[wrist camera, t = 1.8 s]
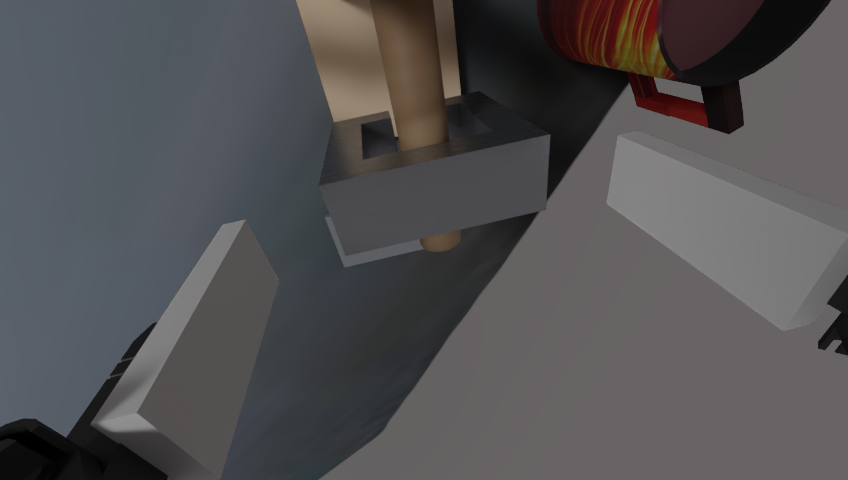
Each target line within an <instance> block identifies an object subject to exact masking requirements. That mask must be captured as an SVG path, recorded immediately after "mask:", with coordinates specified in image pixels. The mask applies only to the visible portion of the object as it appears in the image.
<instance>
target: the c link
mask: <svg viewBox="0 0 848 480" xmlns="http://www.w3.org/2000/svg"><path fill="white" fill-rule="evenodd" d="M445 104H446V113H447V121H448V130H449V138H450V141H446V142H442V143H437V144H433V145H428V146H424V147H419V148H414V149H410V150H405V151H401V152H398V149H397V144H396V139H395V135H394V130H393V125H392V121H391V117H390V114H389V111H384V112H380V113H375V114H370V115H366V116H361V117H356V118H352V119H347V120H342V121H338V122H333V124H332V128H331V133H330V137H329V142H328V146H327V151H326V155H325V160H324V164H323V169H322V173H321V177H320V182H319V188H320V191H321V193H322V196H323V199H324V201H325V204H326V206H327V209H328V212H329V214H330V217H331V219H332V222H333V225H334V227H335V230H336V233H337V235H338V238H339V240H340V243H341V246H342V248H343V251H344V253H345V256H349V255H353V254H357V253H362V252H366V251H370V250H375V249H379V248H383V247H387V246H392V245H396V244H400V243H405V242H409V241H413V240H418V239H422V238H426V237H430V236H435V235H439V234H443V233H448V232H452V231H456V230H460V229H465V228H469V227H473V226H478V225H482V224H486V223H491V222H495V221H499V220H503V219H508V218H512V217H516V216H521V215H525V214H529V213H534V212H538V211H542V210H546V199H547V182H548V165H549V148H550V134H549V133H547V132H546V131H544V130H542V129H541V128H539V127H537V126H536V125H534V124H532V123H531V122H529V121H528V120H526V119H524V118H523V117H521V116H519V115H518V114H516V113H514V112H513V111H511V110H509V109H508V108H506V107H505V106H503V105H501V104H500V103H498V102H496V101H495V100H493V99H491V98H490V97H488V96H486V95H485V94H483V93H481V92H480V91H478V92H473V93H468V94H464V95H459V96H454V97H450V98H445Z"/></svg>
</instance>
